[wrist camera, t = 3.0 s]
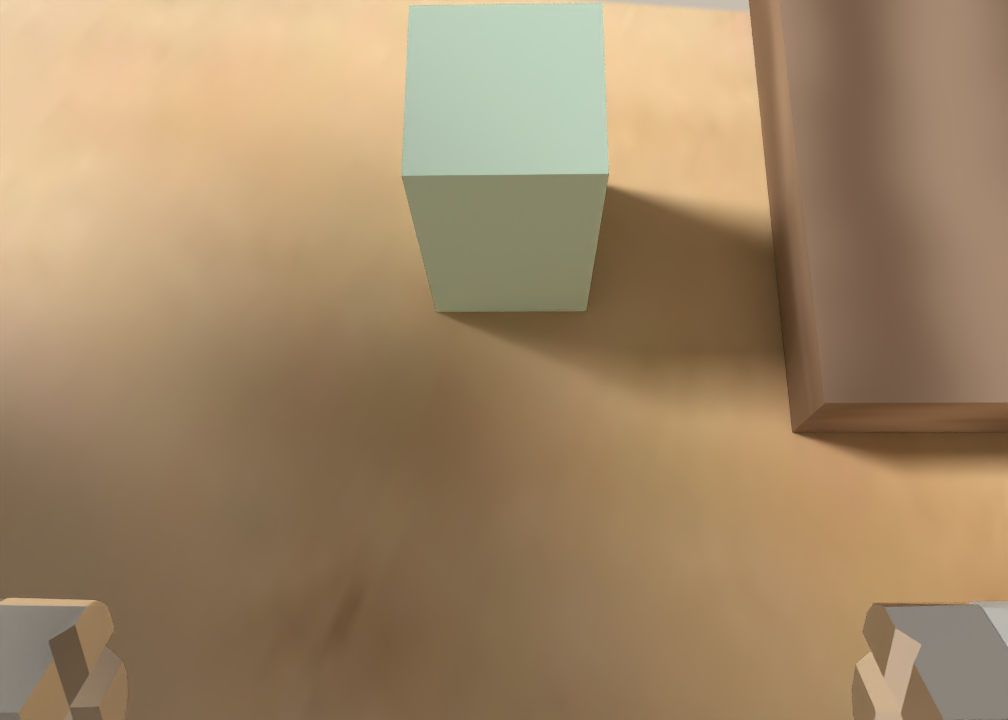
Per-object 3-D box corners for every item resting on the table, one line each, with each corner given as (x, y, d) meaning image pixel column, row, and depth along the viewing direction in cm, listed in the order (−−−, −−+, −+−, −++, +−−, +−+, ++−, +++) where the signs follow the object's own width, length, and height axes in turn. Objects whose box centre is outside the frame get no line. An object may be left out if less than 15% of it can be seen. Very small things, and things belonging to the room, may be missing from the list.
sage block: (436, 312, 27) (401, 175, 20) (440, 179, 29) (409, 5, 21) (586, 311, 27) (608, 173, 20) (582, 178, 29) (602, 2, 21)
